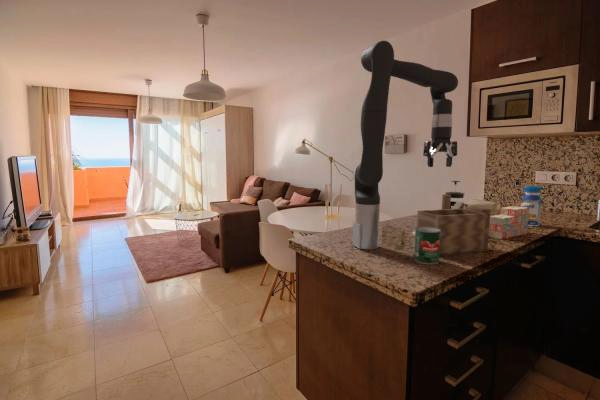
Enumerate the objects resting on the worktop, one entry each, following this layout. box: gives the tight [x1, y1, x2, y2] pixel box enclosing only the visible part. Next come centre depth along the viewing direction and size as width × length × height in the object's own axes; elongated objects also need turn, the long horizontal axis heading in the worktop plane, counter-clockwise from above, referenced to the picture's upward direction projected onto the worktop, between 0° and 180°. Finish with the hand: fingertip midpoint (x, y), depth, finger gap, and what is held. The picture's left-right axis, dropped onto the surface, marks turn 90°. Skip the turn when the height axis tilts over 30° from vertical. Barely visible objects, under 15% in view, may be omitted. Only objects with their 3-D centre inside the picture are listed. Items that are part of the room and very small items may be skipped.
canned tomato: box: [413, 226, 441, 265], centre depth 110 cm, size 8×8×11 cm
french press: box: [445, 180, 469, 209], centre depth 164 cm, size 12×9×23 cm
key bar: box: [468, 198, 501, 211], centre depth 124 cm, size 3×12×2 cm, turn 14°
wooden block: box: [440, 193, 464, 210], centre depth 150 cm, size 4×11×18 cm, turn 113°
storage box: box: [416, 208, 486, 257], centre depth 122 cm, size 20×12×14 cm, turn 104°
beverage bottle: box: [520, 185, 543, 227], centre depth 166 cm, size 8×8×20 cm
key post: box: [466, 205, 492, 252], centre depth 125 cm, size 4×8×16 cm, turn 14°
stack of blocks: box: [489, 205, 529, 240], centre depth 146 cm, size 21×6×12 cm, turn 121°
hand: (439, 166), depth 133 cm, fingers open, 8 cm apart
